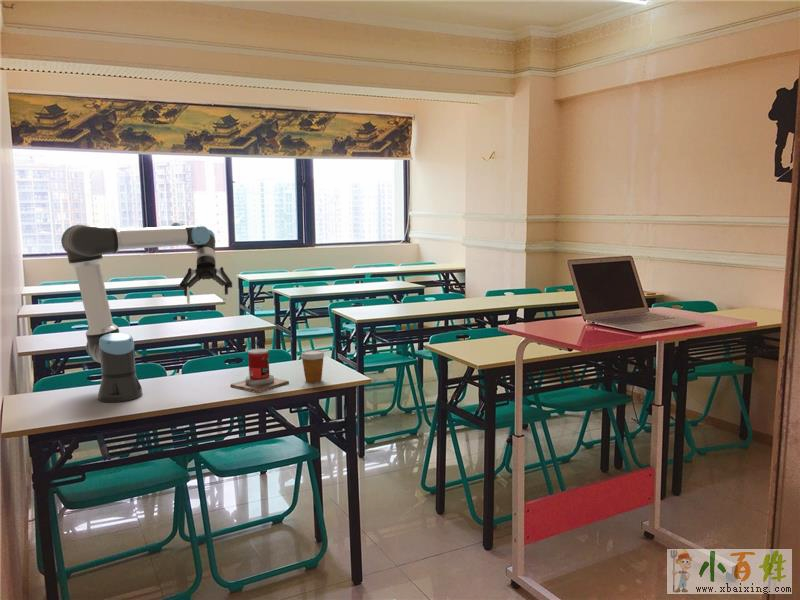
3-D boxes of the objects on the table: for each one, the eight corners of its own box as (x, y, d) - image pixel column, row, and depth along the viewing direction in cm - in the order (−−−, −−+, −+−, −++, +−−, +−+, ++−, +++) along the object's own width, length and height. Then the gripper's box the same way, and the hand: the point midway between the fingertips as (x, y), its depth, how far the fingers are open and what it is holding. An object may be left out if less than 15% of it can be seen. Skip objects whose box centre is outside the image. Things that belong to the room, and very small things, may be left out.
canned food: (265, 380, 244) (264, 352, 243) (246, 379, 246) (244, 352, 244) (272, 375, 252) (271, 348, 250) (253, 375, 253) (252, 348, 252)
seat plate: (230, 386, 247) (230, 379, 247) (261, 378, 260) (261, 370, 260) (258, 392, 238) (257, 385, 238) (288, 383, 251) (288, 376, 250)
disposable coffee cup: (323, 384, 249) (322, 354, 247) (299, 384, 249) (298, 354, 248) (326, 378, 258) (326, 349, 257) (303, 378, 259) (302, 349, 257)
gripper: (237, 265, 266) (239, 305, 254) (175, 267, 260) (174, 308, 247) (236, 253, 260) (238, 293, 248) (173, 255, 254) (171, 296, 242)
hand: (206, 301), depth 248 cm, fingers open, 13 cm apart
